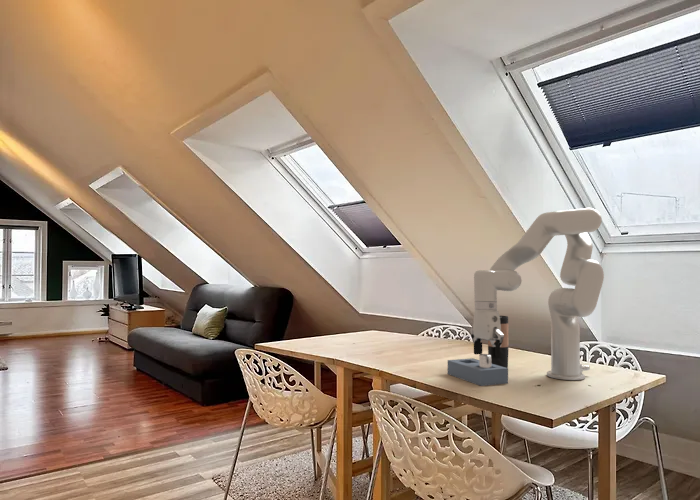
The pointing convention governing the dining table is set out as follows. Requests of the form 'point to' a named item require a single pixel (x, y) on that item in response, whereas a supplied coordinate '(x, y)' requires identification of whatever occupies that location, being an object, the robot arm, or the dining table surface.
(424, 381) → the dining table surface
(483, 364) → the bushing
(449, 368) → the block
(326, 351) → the dining table surface
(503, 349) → the travel mug
